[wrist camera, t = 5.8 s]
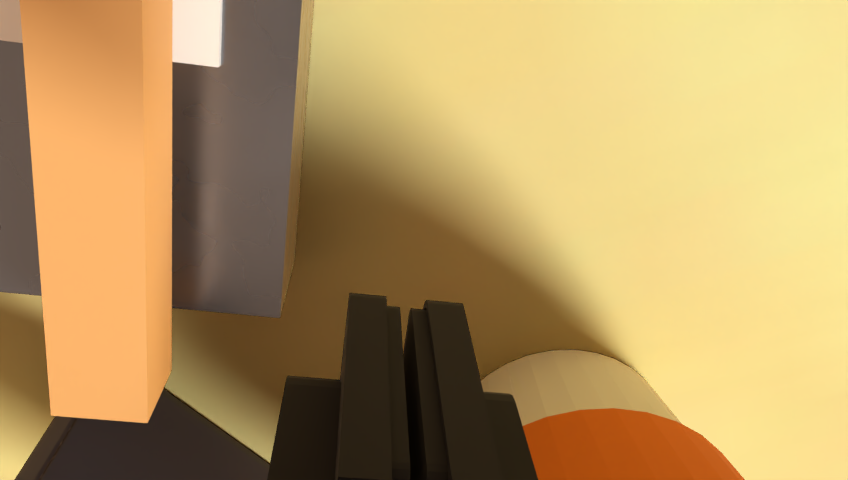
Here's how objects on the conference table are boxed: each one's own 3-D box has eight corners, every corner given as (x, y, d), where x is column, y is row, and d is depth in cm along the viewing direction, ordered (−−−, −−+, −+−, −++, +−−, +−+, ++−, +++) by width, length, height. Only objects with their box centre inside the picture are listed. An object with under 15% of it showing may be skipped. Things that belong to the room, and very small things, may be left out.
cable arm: (1, -576, 13) (-88, -687, 11) (207, -535, 14) (167, -633, 11) (63, 361, 21) (19, 423, 19) (193, 372, 22) (167, 435, 19)
